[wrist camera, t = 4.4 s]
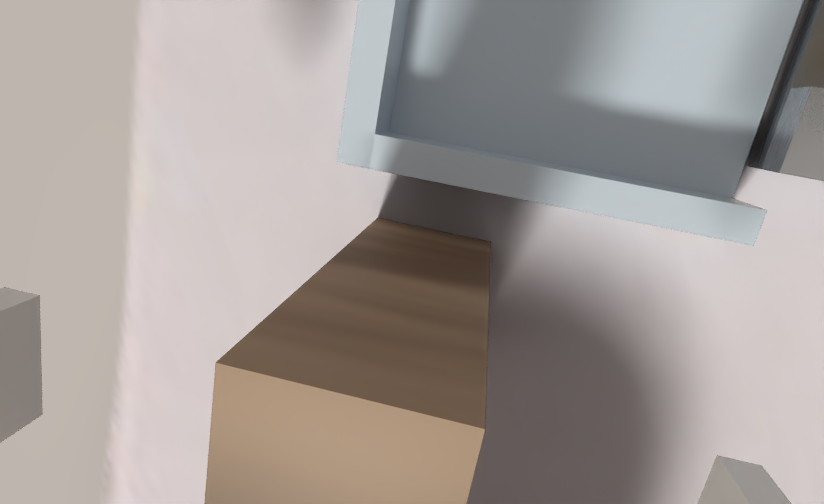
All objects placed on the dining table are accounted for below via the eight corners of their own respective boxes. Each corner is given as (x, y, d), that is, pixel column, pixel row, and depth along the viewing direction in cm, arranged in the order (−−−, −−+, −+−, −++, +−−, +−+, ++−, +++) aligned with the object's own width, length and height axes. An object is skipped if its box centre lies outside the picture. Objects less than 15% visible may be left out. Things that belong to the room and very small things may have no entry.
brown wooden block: (377, 218, 18) (215, 362, 8) (490, 241, 18) (485, 429, 7) (360, 321, 19) (198, 573, 9) (466, 346, 19) (431, 640, 8)
